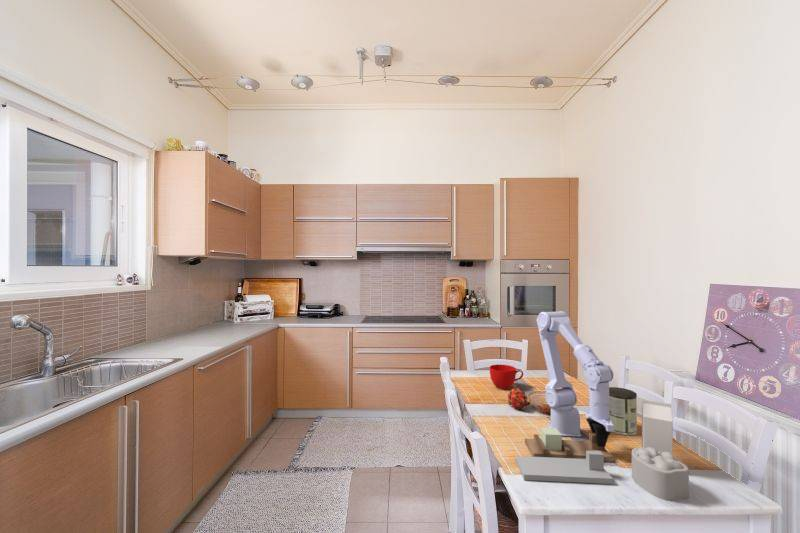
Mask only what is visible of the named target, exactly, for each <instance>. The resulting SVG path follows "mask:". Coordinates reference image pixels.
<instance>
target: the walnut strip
mask: <svg viewBox="0 0 800 533" xmlns="http://www.w3.org/2000/svg"><path fill="white" fill-rule="evenodd" d="M524 444H525V446H526V447H527V449H528V451H529V453H530V455H531V457H551V458H575V459H586V451H601V453H602V454H603V455H604V462H612V463H613V462H614V456H613V455H612V454H611V453H610V452H609V451H608V450H607V449H606V446H605V447H599V446H598V445H597V440H596V433H592V432H589V433H588V440H575V439H562V451H556V450H547V448H546V447H545V445H544V444H543V442H542V441H541V437H540V436H539V434H533V438H527V437H526V438H524Z"/></svg>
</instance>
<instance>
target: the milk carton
mask: <svg viewBox="0 0 800 533" xmlns="http://www.w3.org/2000/svg"><path fill="white" fill-rule="evenodd" d="M641 402H642V403H641V447H643V448H647V447H651V448H654V449H655V450H656V451H658V452H659V451H661V452H669V453H671V454H672V455H673V456H674V444H673V443H674V438H673V436H674V434H673V428H674V427H673V414H672V403H668V402H667V403H666V402H661V401H654V400H649V399H644V398H643V399H642V400H641Z"/></svg>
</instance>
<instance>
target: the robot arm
mask: <svg viewBox="0 0 800 533" xmlns="http://www.w3.org/2000/svg"><path fill="white" fill-rule="evenodd" d="M535 321H536V324H537V327H538V328H537V329H538V332H539V339H540V342H541V343H540V344H541V349H542V352H543V356H544V361H545V365H546V369H547V374H548V379H549V382H547V383H546V385H545V387H544V389H545V401H546V403H547V405H548V407H549V408H550V424H547V425H546V428H556V429H557V430H558V431H559V432H560V434H561V435H562V437H578V438H580V437H582V434H581V415H580V411H579V410H578V408H577V407H574V406H575V405H577V402H578V395H577V393H576V392H575V389H574V388H573V387H574V386H573V384H572V383H571V382H570V381H568V380H567V379H566V377H565V372H564V368H563V363H562V359H561V355H560V352H559V347H558V342H557V339H556V337H557V335H558V334H561V335H562V337H563V338H564V339H565V340H566V342H568V344H569V345H570V346H571V347H572V348H573V356H574V357H575V358H576V359H577V361H578V362H579V364H580V365H581V367H582V368H583V369H584V373H583V374H584V377H585V379H586V382H587V387H588V406H586V407H585V412H586V414H585V417H586V420H585V421H586V422H587V424H588V426H589V428H590V433H596V440H597V445H598V446H599V447H605V448H606V444H607V442H608V439H609V436H610V434H611V433H614V425H613V424H612V422H611V419H610V417H609V387H610V382H612V381H613V379H614V371H613V369H612V367H611V366H610V365H609V364H607V363H605V362H603V361H601V360H600V358H599V357H598V355H596V354H595V352H594V350H593V349H592V347H591V346H589V345H588V344H584V343H583V342H582V340H581V339H580V337H579V336H578V334H577V333H576V331H575V329H574V328H573V326H572V325H571V318H570V317H569V316H568V315H567V313H566V312H565V311H563V310H559V311H541V312H539V314H538V315H537V317H536V320H535Z"/></svg>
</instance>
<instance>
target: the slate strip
mask: <svg viewBox="0 0 800 533" xmlns="http://www.w3.org/2000/svg"><path fill="white" fill-rule="evenodd" d="M514 457H515V461H514V462H515V463H516V465H517V468H518V470H519V472H520V474H521V476H522V479H523V481H535V482H536V481H538V482H541V481H542V482H560V483H561V482H562V483H579V484H580V483H582V484H602V485H613V484H614V478H613V477H612V476H611V475H610V474H609V473H608V471H607V470H606V469H605V468H604V466H605V464H604V463H605V461H604V455H603V454H602V453H601V451H586V459H575V458H551V457H533V456H524V455H522V456H521V455H515V456H514Z"/></svg>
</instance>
